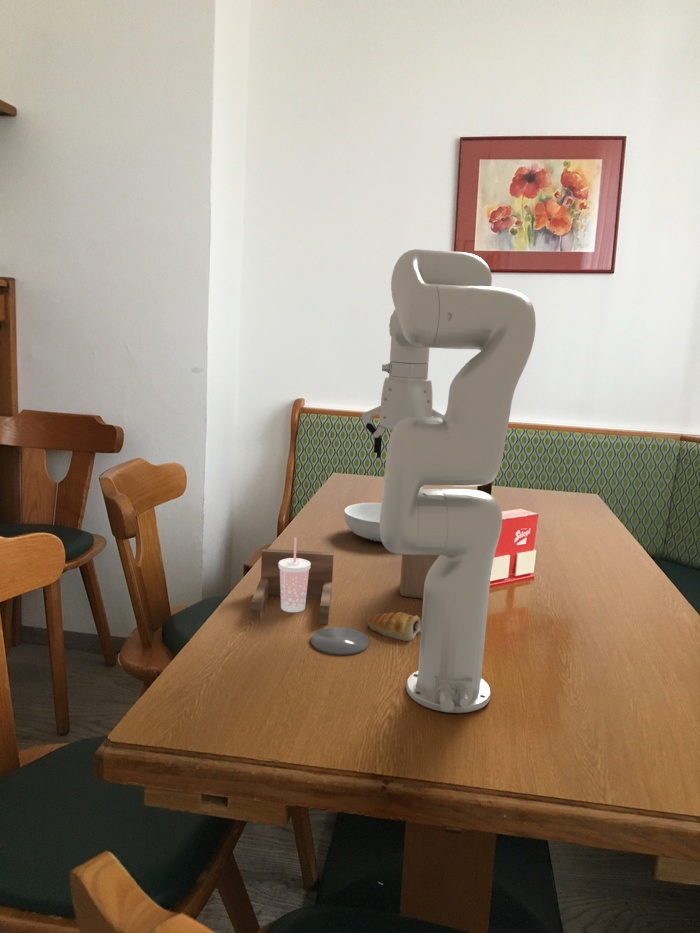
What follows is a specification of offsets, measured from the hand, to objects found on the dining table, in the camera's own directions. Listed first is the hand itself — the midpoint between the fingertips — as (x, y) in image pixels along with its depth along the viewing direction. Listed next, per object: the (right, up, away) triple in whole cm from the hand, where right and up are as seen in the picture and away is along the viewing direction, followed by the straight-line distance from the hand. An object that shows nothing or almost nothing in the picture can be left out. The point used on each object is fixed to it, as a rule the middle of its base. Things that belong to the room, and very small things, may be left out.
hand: (402, 458), depth 149 cm
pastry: (-2, -32, -14) cm, 35 cm away
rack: (-22, -29, -5) cm, 36 cm away
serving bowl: (-2, -20, +44) cm, 49 cm away
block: (+5, -28, +7) cm, 29 cm away
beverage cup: (-22, -29, -5) cm, 36 cm away
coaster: (-12, -32, -20) cm, 39 cm away
